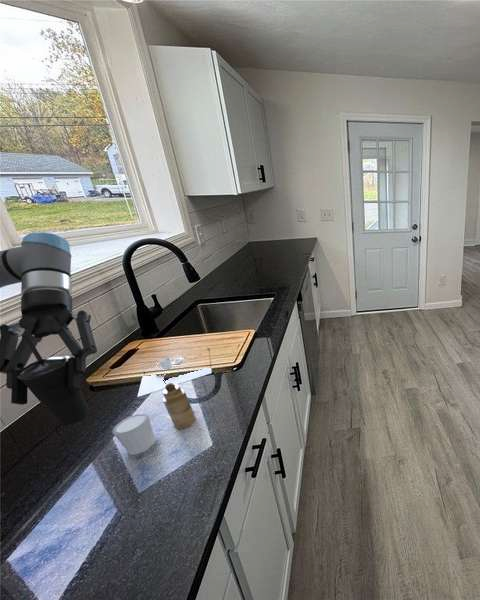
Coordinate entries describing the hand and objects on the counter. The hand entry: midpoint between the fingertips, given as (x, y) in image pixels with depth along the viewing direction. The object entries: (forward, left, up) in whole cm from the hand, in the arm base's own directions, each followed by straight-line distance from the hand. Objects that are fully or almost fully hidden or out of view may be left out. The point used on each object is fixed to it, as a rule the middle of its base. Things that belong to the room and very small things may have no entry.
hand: (48, 395), depth 62 cm
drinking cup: (-3, +1, -9) cm, 9 cm away
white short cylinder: (0, +9, -21) cm, 23 cm away
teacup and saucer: (-31, +24, -21) cm, 45 cm away
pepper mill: (0, +18, -21) cm, 28 cm away
